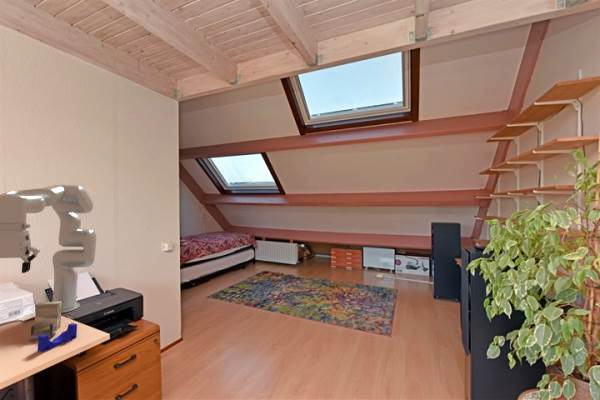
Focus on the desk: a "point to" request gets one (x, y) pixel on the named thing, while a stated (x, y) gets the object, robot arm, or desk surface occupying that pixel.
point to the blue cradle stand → (64, 337)
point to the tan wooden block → (48, 314)
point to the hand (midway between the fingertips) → (9, 272)
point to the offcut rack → (42, 332)
